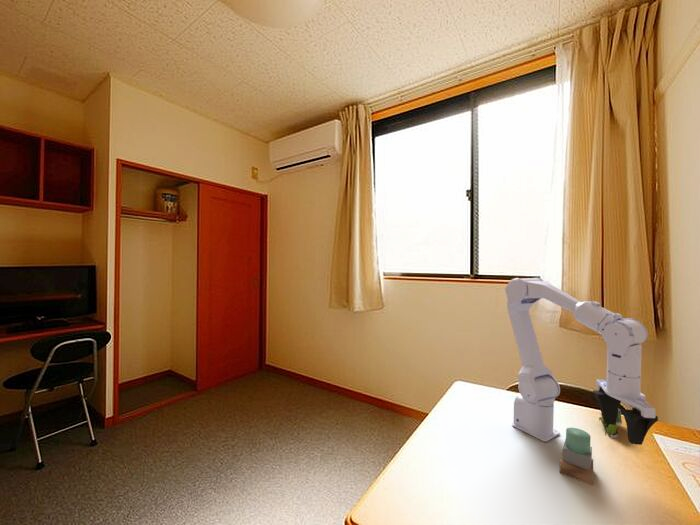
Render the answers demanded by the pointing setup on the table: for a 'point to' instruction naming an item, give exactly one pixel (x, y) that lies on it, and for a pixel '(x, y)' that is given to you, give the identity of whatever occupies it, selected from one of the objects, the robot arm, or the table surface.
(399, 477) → the table surface
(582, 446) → the green cylinder
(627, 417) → the robot arm
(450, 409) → the table surface
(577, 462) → the gray block
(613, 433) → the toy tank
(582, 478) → the walnut block
